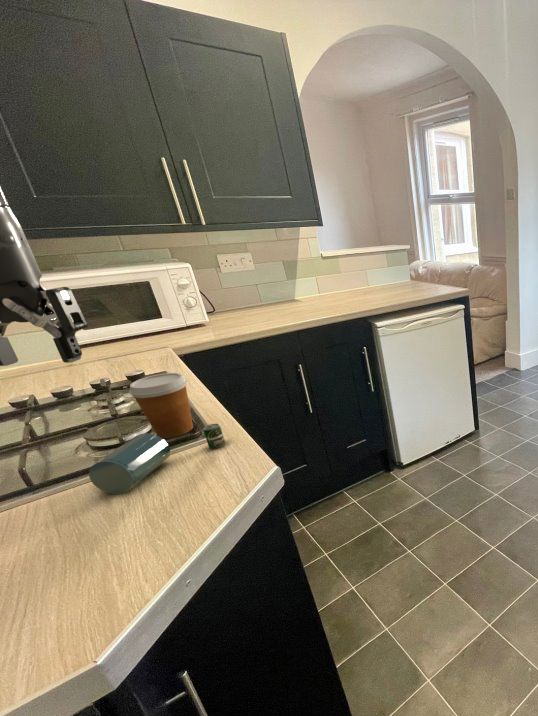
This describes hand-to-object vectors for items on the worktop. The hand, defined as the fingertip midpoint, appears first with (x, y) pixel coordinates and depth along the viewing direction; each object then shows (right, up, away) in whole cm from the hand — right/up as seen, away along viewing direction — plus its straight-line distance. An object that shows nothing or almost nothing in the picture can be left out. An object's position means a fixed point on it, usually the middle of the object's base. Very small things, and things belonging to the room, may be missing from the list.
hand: (41, 362), depth 60 cm
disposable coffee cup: (-5, -14, +31) cm, 34 cm away
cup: (+2, -19, +9) cm, 21 cm away
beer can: (+8, -16, +24) cm, 30 cm away
